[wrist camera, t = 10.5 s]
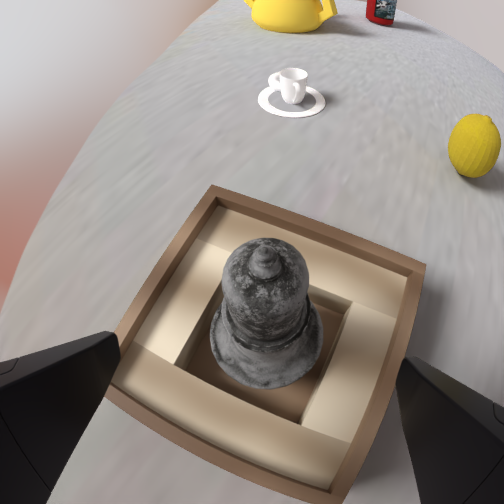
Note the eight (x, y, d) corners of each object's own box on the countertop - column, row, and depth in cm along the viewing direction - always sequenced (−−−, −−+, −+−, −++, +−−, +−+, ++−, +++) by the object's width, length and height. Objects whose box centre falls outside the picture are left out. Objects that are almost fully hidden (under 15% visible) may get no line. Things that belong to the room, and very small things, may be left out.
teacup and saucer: (267, 81, 37) (267, 54, 33) (327, 89, 35) (330, 62, 32) (250, 115, 32) (248, 85, 29) (321, 126, 31) (325, 95, 28)
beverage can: (381, 27, 50) (387, -18, 40) (359, 18, 53) (363, -25, 43) (398, 27, 52) (404, -15, 41) (376, 17, 55) (381, -23, 44)
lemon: (429, 155, 28) (454, 96, 21) (463, 154, 28) (489, 102, 21) (454, 194, 25) (488, 135, 18) (487, 191, 26) (521, 138, 19)
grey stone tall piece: (203, 367, 18) (117, 294, 8) (246, 289, 21) (223, 150, 10) (289, 409, 17) (325, 399, 6) (328, 325, 19) (392, 208, 9)
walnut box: (323, 491, 14) (337, 510, 11) (119, 391, 18) (85, 381, 14) (401, 292, 21) (426, 264, 17) (220, 222, 25) (211, 184, 21)
